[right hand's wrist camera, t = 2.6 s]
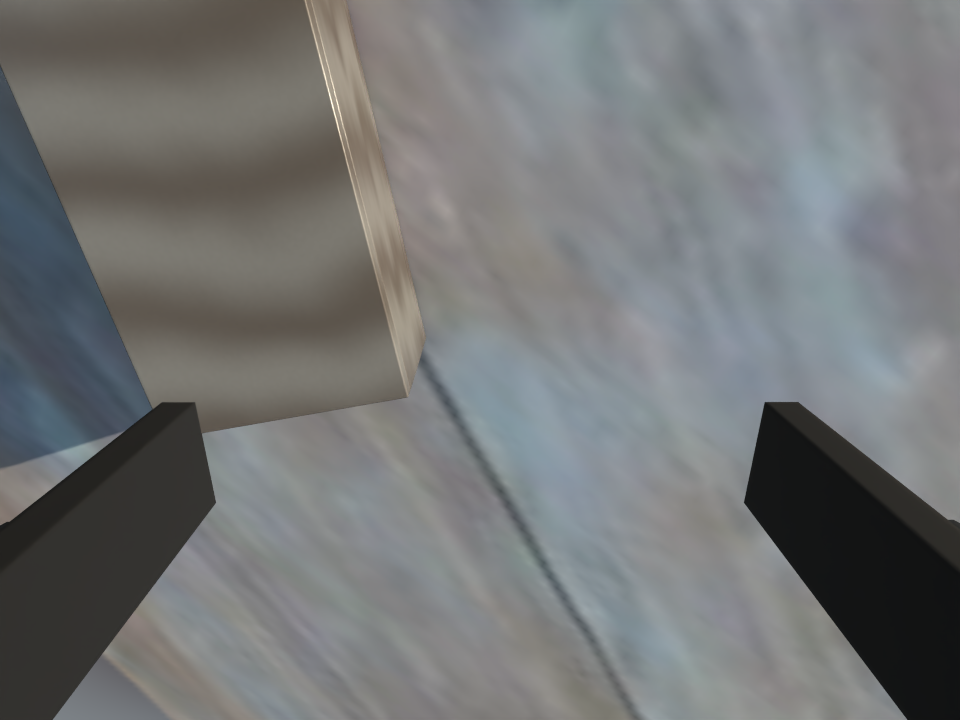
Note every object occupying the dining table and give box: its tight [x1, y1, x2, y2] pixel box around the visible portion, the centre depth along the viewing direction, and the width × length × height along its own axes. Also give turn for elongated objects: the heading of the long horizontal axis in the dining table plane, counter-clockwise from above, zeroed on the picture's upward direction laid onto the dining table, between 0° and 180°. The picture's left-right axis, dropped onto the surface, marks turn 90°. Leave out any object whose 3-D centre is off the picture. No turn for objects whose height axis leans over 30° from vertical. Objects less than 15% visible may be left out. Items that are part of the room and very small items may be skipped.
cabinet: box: [0, 0, 426, 433], centre depth 24 cm, size 21×11×8 cm, turn 11°
